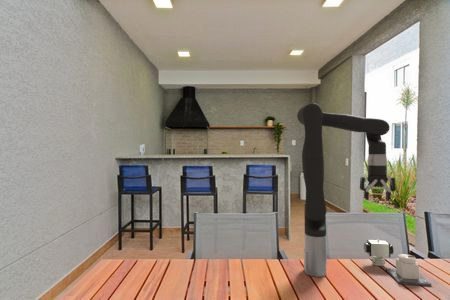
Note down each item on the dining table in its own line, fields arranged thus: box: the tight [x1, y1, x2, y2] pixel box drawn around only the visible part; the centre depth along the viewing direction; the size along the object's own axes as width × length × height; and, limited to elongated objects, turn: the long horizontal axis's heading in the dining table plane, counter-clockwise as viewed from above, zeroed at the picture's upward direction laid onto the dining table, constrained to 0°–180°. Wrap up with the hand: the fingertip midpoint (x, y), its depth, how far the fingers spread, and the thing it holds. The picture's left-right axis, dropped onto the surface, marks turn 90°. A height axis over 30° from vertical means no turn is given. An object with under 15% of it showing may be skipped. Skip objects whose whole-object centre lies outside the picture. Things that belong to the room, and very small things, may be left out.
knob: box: [395, 253, 420, 279], centre depth 119 cm, size 6×6×8 cm
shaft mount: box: [385, 267, 432, 287], centre depth 119 cm, size 12×13×6 cm
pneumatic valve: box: [363, 239, 394, 267], centre depth 133 cm, size 6×12×12 cm, turn 78°
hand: (377, 200), depth 125 cm, fingers open, 8 cm apart
